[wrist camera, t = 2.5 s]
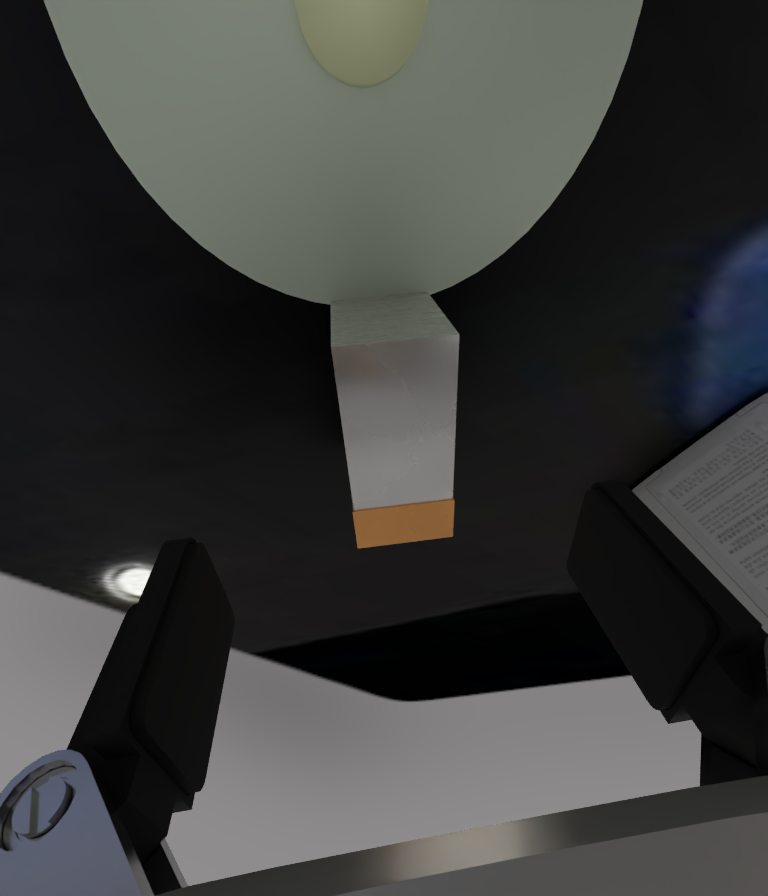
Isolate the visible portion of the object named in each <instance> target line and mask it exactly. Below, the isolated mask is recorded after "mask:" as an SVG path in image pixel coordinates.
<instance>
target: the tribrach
mask: <svg viewBox="0 0 768 896" xmlns="http://www.w3.org/2000/svg"><path fill="white" fill-rule="evenodd" d="M44 2H45V5H46V8H47V10H48V13H49V15H50V18H51V21H52V23H53V26H54V28H55V31H56V34H57V36H58V39H59V41H60V44H61V47H62V49H63V52H64V54H65V57H66V59H67V61H68V63H69V65H70V67H71V70H72V72H73V74H74V76H75V78H76V80H77V82H78V84H79V86H80V88H81V90H82V92H83V94H84V96H85V98H86V100H87V102H88V104H89V106H90V108H91V110H92V112H93V113H94V115H95V117H96V118H97V120H98V121H99V123H100V125H101V126H102V128H103V130H104V131H105V133H106V135H107V136H108V138H109V140H110V141H111V143H112V145H113V146H114V148H115V150H116V151H117V152H118V154H119V155H120V157H121V158H122V159H123V161H124V162H125V163H126V165H127V166H128V167H129V169H130V170H131V171H132V173H133V174H134V176H135V177H136V178H137V180H138V181H139V182H140V184H141V185H142V186H143V188H144V189H145V190H146V191H147V192H148V193H149V194H150V195H151V196H152V198H153V199H154V200H155V201H156V202H157V203H158V204H159V205H160V207H161V208H162V209H163V210H164V211H165V212H166V213H167V214H168V215H169V217H170V218H171V219H172V220H173V221H175V222H176V223H177V224H178V225H179V226H180V227H181V228H182V229H183V230H184V231H186V232H187V233H188V234H189V235H190V236H191V237H192V238H193V239H194V240H195V241H197V242H198V243H199V244H200V245H201V246H203V247H204V248H205V249H207V250H208V251H209V252H211V253H212V254H214V255H215V256H216V257H218V258H219V259H220V260H222V261H223V262H224V263H226V264H227V265H229V266H230V267H232V268H234V269H236V270H237V271H239V272H241V273H243V274H244V275H246V276H248V277H250V278H251V279H253V280H255V281H257V282H259V283H261V284H263V285H266V286H268V287H270V288H273V289H275V290H278V291H280V292H282V293H285V294H287V295H291V296H294V297H298V298H301V299H305V300H308V301H312V302H316V303H323V304H330V305H331V301H337V300H348V299H359V298H369V297H380V296H391V295H401V294H412V293H423V292H428V294H429V295H431V294H434V293H436V292H439V291H441V290H444V289H446V288H449V287H451V286H453V285H455V284H457V283H459V282H461V281H462V280H464V279H466V278H468V277H470V276H471V275H473V274H475V273H477V272H478V271H480V270H481V269H483V268H484V267H485V266H487V265H488V264H490V263H491V262H492V261H494V260H495V259H497V258H498V257H499V256H501V255H502V254H503V253H504V252H506V251H507V250H508V249H509V248H510V247H511V246H512V245H513V244H514V243H515V242H517V241H518V240H519V239H520V238H521V237H522V236H523V235H524V234H525V233H527V232H528V230H529V229H530V228H531V227H532V226H533V225H534V224H535V223H536V221H537V220H538V219H539V218H540V217H541V216H542V215H543V214H544V212H545V211H546V210H547V209H548V208H549V207H550V206H551V204H552V203H553V202H554V200H555V199H556V197H557V196H558V195H559V193H560V192H561V190H562V189H563V188H564V186H565V185H566V184H567V182H568V181H569V179H570V178H571V177H572V175H573V174H574V172H575V170H576V168H577V167H578V165H579V163H580V162H581V160H582V158H583V157H584V155H585V153H586V151H587V150H588V148H589V146H590V145H591V143H592V141H593V139H594V137H595V135H596V133H597V131H598V129H599V127H600V124H601V122H602V120H603V118H604V116H605V114H606V112H607V110H608V107H609V105H610V103H611V101H612V99H613V96H614V93H615V90H616V88H617V85H618V82H619V80H620V77H621V74H622V71H623V69H624V66H625V63H626V61H627V58H628V55H629V51H630V48H631V44H632V40H633V37H634V33H635V30H636V26H637V22H638V19H639V15H640V11H641V8H642V3H643V0H44ZM335 380H336V379H335Z"/></svg>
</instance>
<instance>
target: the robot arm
mask: <svg viewBox="0 0 768 896" xmlns="http://www.w3.org/2000/svg"><path fill="white" fill-rule="evenodd" d="M567 568H568V572H569V574H570V576H571V578H572V580H573V581H574V583H575V584H576V586H577V588H578V589H579V591H580V593H581V594H582V596H583V597H584V599H585V601H586V602H587V604H588V605H589V607H590V609H591V610H592V612H593V614H594V615H595V617H596V618H597V620H598V622H599V623H600V625H601V627H602V628H603V630H604V631H605V633H606V635H607V636H608V638H609V640H610V641H611V643H612V644H613V646H614V648H615V649H616V651H617V653H618V654H619V656H620V657H621V659H622V661H623V662H624V664H625V665H626V667H627V669H628V670H629V672H630V674H631V675H632V677H633V678H634V680H635V682H636V683H637V685H638V686H639V688H640V690H641V691H642V693H643V695H644V696H645V698H646V700H647V701H648V702H649V703H650V705H651V706H652V707H653V708H655V709H656V710H660V711H661V713H662V715H663V716H664V718H665V719H666V721H667V722H668V724H670V723H675V722H681V721H686V720H693V722H694V723H695V725H696V726H697V728H698V729H699V731H700V732H701V736H702V737H701V767H700V787H693V788H687V789H682V790H676V791H671V792H666V793H660V794H656V795H650V796H644V797H639V798H634V799H628V800H623V801H617V802H612V803H607V804H601V805H596V806H591V807H585V808H581V809H574V810H569V811H564V812H559V813H553V814H548V815H543V816H538V817H533V818H527V819H522V820H517V821H511V822H506V823H501V824H496V825H490V826H485V827H480V828H475V829H470V830H464V831H459V832H454V833H449V834H444V835H439V836H434V837H429V838H423V839H418V840H412V841H408V842H402V843H397V844H392V845H387V846H382V847H377V848H372V849H367V850H361V851H356V852H351V853H346V854H342V855H336V856H331V857H327V858H321V859H316V860H311V861H306V862H300V863H295V864H290V865H285V866H280V867H275V868H271V869H266V870H262V871H257V872H252V873H248V874H243V875H239V876H234V877H230V878H225V879H220V880H216V881H211V882H207V883H202V884H197V885H192V886H187V883H186V881H185V879H184V877H183V875H182V873H181V871H180V869H179V867H178V865H177V863H176V861H175V858H174V856H173V854H172V852H171V850H170V848H169V846H168V844H167V842H166V840H165V837H166V836H167V834H168V829H169V824H170V820H171V816H172V813H175V812H180V811H186V810H191V809H192V805H193V800H194V794H195V792H199V791H201V789H202V787H203V785H204V783H205V778H206V773H207V767H208V763H209V757H210V752H211V747H212V741H213V736H214V731H215V726H216V720H217V715H218V709H219V704H220V699H221V693H222V688H223V683H224V678H225V672H226V667H227V662H228V656H229V651H230V646H231V641H232V635H233V630H234V613H233V610H232V607H231V605H230V603H229V601H228V598H227V596H226V594H225V591H224V589H223V587H222V584H221V582H220V580H219V578H218V575H217V573H216V571H215V568H214V566H213V564H212V562H211V559H210V557H209V555H208V552H207V550H206V548H205V546H204V544H203V543H197V542H196V541H195V539H194V538H184V539H177V540H170V541H166V542H165V543H164V544H163V546H162V548H161V550H160V552H159V555H158V557H157V560H156V562H155V564H154V567H153V569H152V571H151V574H150V576H149V579H148V581H147V583H146V586H145V588H144V590H143V593H142V595H141V598H140V600H139V602H138V603H137V604H134V605H133V606H132V607H131V608H130V609H129V610H128V612H127V613H126V615H125V617H124V620H123V622H122V624H121V626H120V629H119V631H118V633H117V636H116V638H115V640H114V643H113V645H112V647H111V649H110V652H109V654H108V656H107V658H106V661H105V663H104V665H103V668H102V670H101V672H100V674H99V677H98V679H97V682H96V684H95V686H94V688H93V691H92V693H91V695H90V697H89V700H88V702H87V704H86V706H85V709H84V711H83V714H82V716H81V718H80V720H79V723H78V725H77V727H76V729H75V732H74V734H73V736H72V738H71V741H70V743H69V745H68V748H67V750H61V751H55V752H53V753H50V754H48V755H45V756H42V757H41V758H39V759H38V760H36V761H35V762H33V763H31V764H30V765H28V766H27V767H25V769H23V770H22V771H21V772H20V773H19V774H18V775H17V776H15V777H14V778H13V779H12V780H11V781H10V783H9V784H8V785H7V786H6V787H5V788H4V790H3V791H2V792H1V793H0V896H768V634H767V633H766V632H765V631H764V630H763V629H762V628H761V627H762V624H761V623H760V622H759V621H758V620H757V619H756V618H755V617H754V616H753V615H752V614H751V613H750V612H749V611H748V610H747V609H746V608H745V607H744V606H743V605H742V603H741V602H740V601H739V600H738V599H737V598H736V597H735V596H734V595H733V594H732V593H731V592H730V591H729V590H728V589H727V588H726V587H725V586H724V585H723V584H722V583H721V582H720V581H719V580H718V579H717V578H716V577H715V576H714V575H713V574H712V573H711V572H710V571H709V570H708V569H707V568H706V566H705V565H704V564H703V563H702V562H701V561H700V560H699V559H698V558H697V557H696V556H695V555H694V554H693V553H692V552H691V551H690V550H689V549H688V548H687V547H686V546H685V545H684V544H683V543H682V542H681V541H680V540H679V539H678V538H677V537H676V536H675V535H674V534H673V533H672V532H671V531H670V529H669V528H668V527H667V526H666V525H665V524H664V523H663V522H662V521H661V520H660V519H659V518H658V517H657V516H656V515H655V514H654V513H653V512H652V511H651V510H650V509H649V508H648V507H647V506H646V505H645V504H644V503H643V502H642V501H641V500H640V499H639V498H638V497H637V496H636V495H635V494H634V492H633V491H632V490H631V489H630V488H629V487H628V486H627V485H626V484H625V483H623V482H622V481H620V480H613V481H605V482H598V483H594V484H593V485H592V487H591V489H590V490H587V491H586V494H585V497H584V501H583V504H582V508H581V512H580V516H579V519H578V523H577V527H576V531H575V534H574V538H573V542H572V546H571V549H570V553H569V557H568V560H567Z"/></svg>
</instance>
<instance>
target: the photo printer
mask: <svg viewBox="0 0 768 896" xmlns="http://www.w3.org/2000/svg"><path fill="white" fill-rule="evenodd" d="M632 491H633V492H634V494H635V495H636V496H637V497H638V498H639V499H640V500H641V501H642V502H643V503H644V504H645V505H646V506H647V507H648V508H649V509H650V510H651V511H652V512H653V513H654V514H655V515H656V516H657V517H658V518H659V519H660V520H661V521H662V522H663V523H664V524H665V525H666V526H667V527H668V528H669V529H670V531H671V532H672V533H673V534H674V535H675V536H676V537H677V538H678V539H679V540H680V541H681V542H682V543H683V544H684V545H685V546H686V547H687V548H688V549H689V550H690V551H691V552H692V553H693V554H694V555H695V556H696V557H697V558H698V559H699V560H700V561H701V562H702V563H703V564H704V565H705V566H706V568H707V569H708V570H709V571H710V572H711V573H712V574H713V575H714V576H715V577H716V578H717V579H718V580H719V581H720V582H721V583H722V584H723V585H724V586H725V587H726V588H727V589H728V590H729V591H730V592H731V593H732V594H733V595H734V596H735V597H736V598H737V599H738V600H739V601H740V602H741V603H742V605H743V606H744V607H745V608H746V609H747V610H748V611H749V612H750V613H751V614H752V615H753V616H754V617H755V618H756V619H757V620H758V621H759V622H760V623H761V624H762V627H761V628H762V629H763V630H764V631H765V632H766V633H767V634H768V393H766V394H764V395H762V396H761V397H759V398H757V399H756V400H754V401H753V402H751V403H750V404H748V405H747V406H745V407H744V408H742V409H741V410H739V411H738V412H737V413H735V414H734V415H733V416H731V417H730V418H728V419H727V420H726V421H724V422H723V423H721V424H720V425H719V426H717V427H716V428H715V429H713V430H712V431H711V432H709V433H708V434H706V435H705V436H704V437H702V438H701V439H699V440H698V441H697V442H695V443H694V444H693V445H691V446H690V447H689V448H687V449H686V450H685V451H683V452H682V453H680V454H679V455H678V456H676V457H675V458H674V459H672V460H671V461H670V462H668V463H667V464H666V465H664V466H663V467H662V468H660V469H659V470H657V471H656V472H654V473H653V474H652V475H651V476H649V477H648V478H647V479H645V480H644V481H643V482H641V483H640V484H639V485H638V486H636V487H635V488H634V489H633V490H632Z"/></svg>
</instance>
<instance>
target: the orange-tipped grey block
mask: <svg viewBox="0 0 768 896" xmlns="http://www.w3.org/2000/svg"><path fill="white" fill-rule="evenodd" d="M331 351H332V358H333V365H334V372H335V379H336V386H337V393H338V400H339V407H340V415H341V422H342V429H343V436H344V443H345V450H346V457H347V464H348V472H349V479H350V486H351V495H352V510H353V518H354V525H355V532H356V539H357V546H358V548H366V547H374V546H382V545H390V544H398V543H406V542H414V541H421V540H429V539H437V538H445V537H453V521H454V497H453V478H454V454H455V429H456V405H457V380H458V356H459V333H458V332H457V331H456V329H455V328H454V327H453V325H452V324H451V323H450V321H449V320H448V319H447V317H446V316H445V315H444V313H443V312H442V311H441V309H440V308H439V307H438V305H437V304H436V303H435V301H434V300H433V299H432V298H431V296H430V295H429V294H428V292H423V293H412V294H401V295H391V296H380V297H369V298H359V299H348V300H337V301H331Z"/></svg>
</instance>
